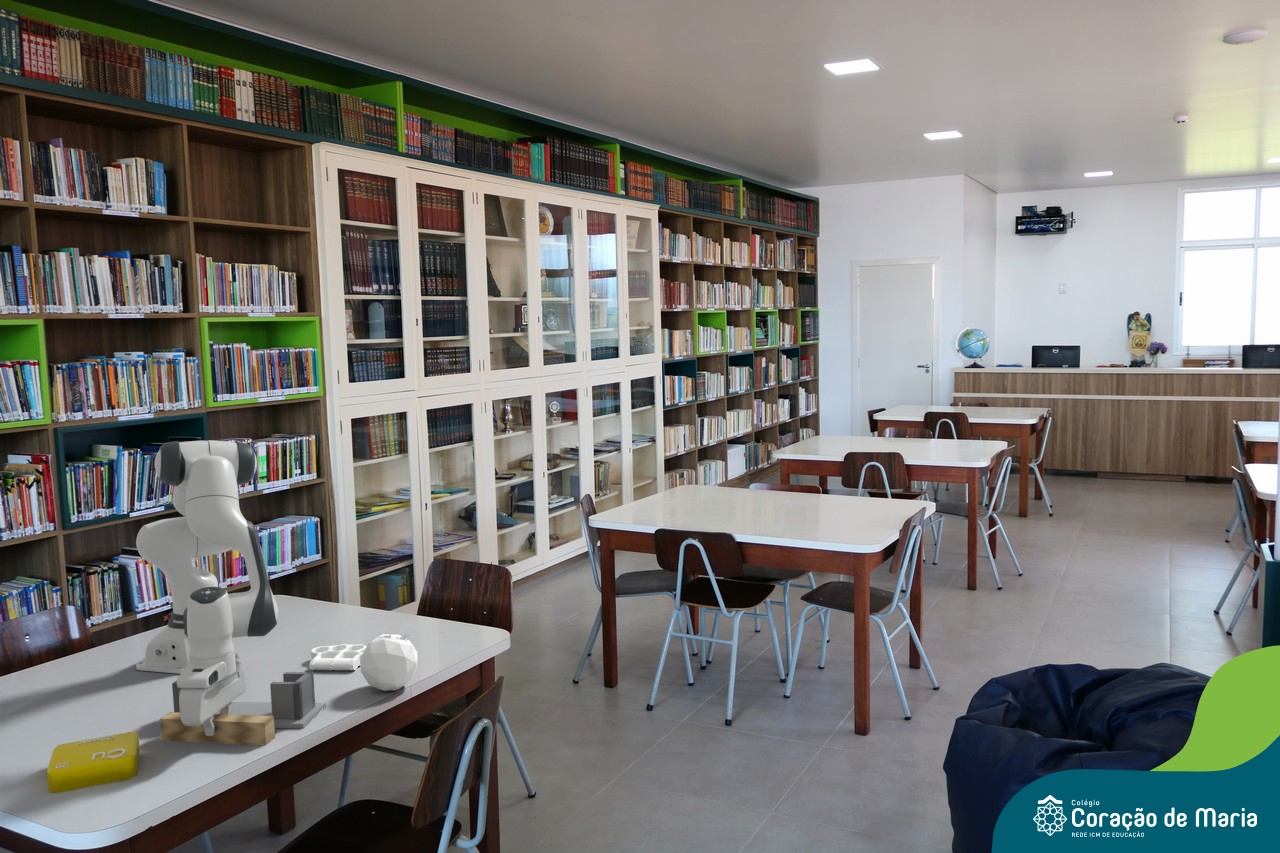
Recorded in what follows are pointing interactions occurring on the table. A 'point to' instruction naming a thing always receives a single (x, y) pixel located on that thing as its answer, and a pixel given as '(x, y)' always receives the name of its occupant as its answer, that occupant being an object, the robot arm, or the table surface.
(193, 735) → the oak slat
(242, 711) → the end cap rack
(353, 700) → the table surface
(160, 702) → the table surface
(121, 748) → the element tile
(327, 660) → the knuckle duster
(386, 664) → the geodesic sphere
